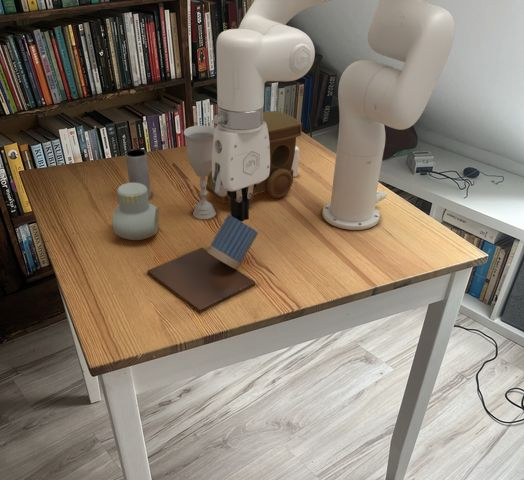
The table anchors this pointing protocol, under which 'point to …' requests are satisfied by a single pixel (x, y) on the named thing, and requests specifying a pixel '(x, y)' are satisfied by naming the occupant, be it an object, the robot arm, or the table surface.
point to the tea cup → (232, 242)
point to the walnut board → (201, 279)
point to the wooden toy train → (274, 157)
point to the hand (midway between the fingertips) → (239, 217)
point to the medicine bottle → (295, 162)
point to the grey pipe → (138, 168)
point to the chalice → (201, 163)
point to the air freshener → (135, 213)
